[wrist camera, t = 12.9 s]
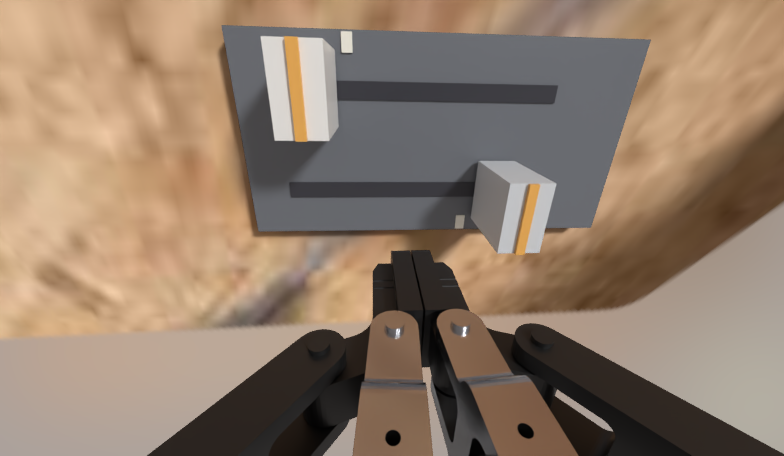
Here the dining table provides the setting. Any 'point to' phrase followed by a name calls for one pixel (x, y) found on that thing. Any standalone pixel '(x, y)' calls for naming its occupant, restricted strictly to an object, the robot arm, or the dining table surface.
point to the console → (435, 125)
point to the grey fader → (511, 206)
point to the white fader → (301, 87)
